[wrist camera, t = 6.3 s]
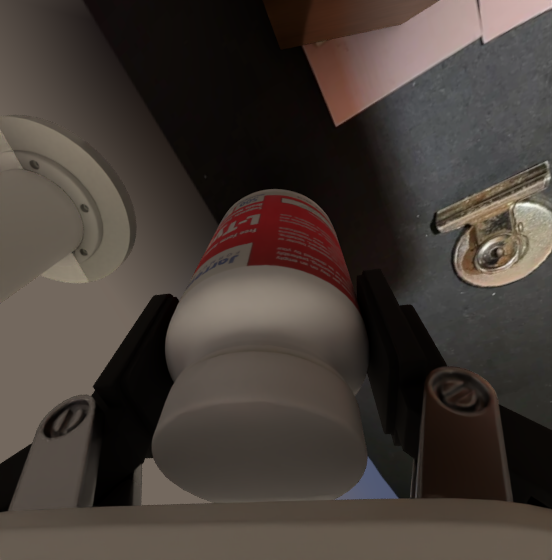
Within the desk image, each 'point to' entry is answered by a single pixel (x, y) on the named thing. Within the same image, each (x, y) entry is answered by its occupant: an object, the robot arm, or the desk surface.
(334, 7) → the stand
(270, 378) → the pill bottle
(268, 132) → the desk surface
